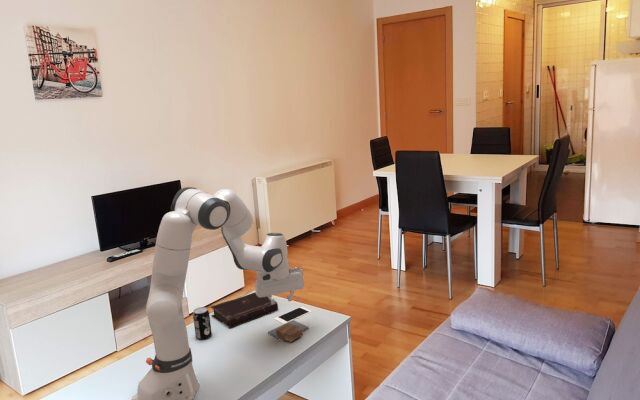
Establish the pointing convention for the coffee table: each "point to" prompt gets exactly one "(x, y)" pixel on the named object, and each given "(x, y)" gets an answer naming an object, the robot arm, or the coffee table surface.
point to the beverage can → (202, 323)
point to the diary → (243, 309)
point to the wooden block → (289, 332)
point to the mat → (293, 322)
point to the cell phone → (292, 315)
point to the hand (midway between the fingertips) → (281, 302)
